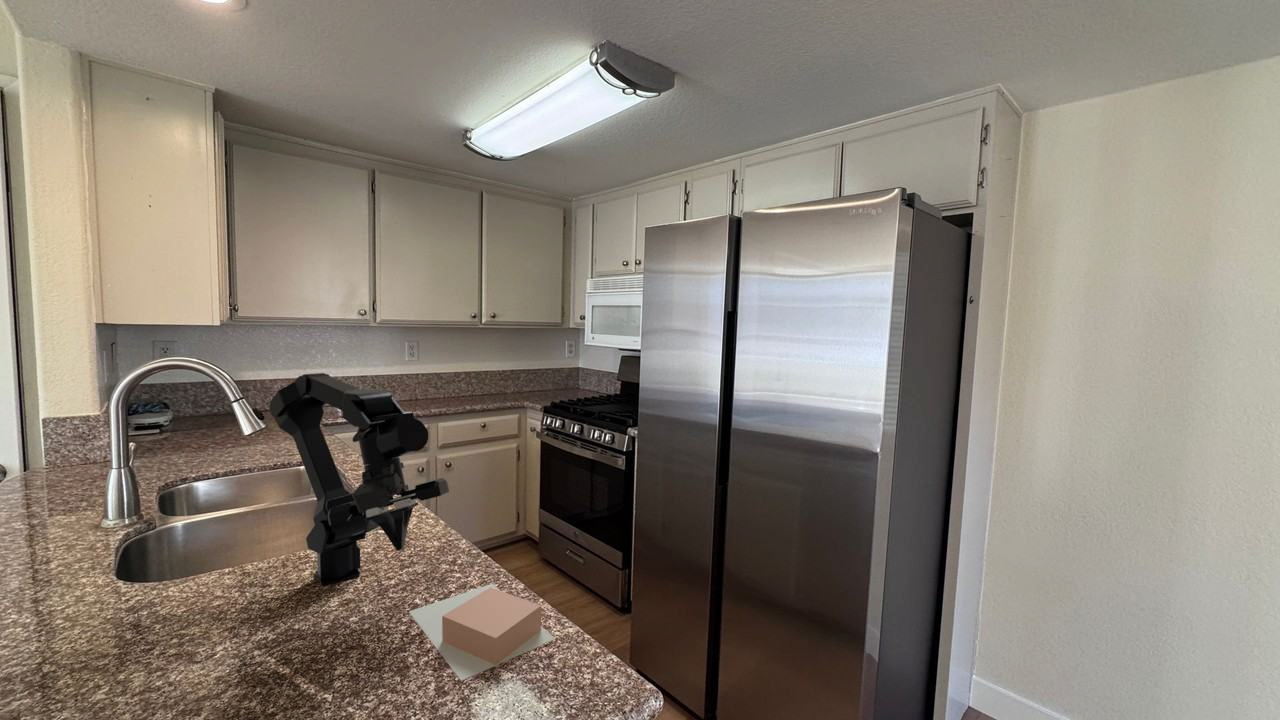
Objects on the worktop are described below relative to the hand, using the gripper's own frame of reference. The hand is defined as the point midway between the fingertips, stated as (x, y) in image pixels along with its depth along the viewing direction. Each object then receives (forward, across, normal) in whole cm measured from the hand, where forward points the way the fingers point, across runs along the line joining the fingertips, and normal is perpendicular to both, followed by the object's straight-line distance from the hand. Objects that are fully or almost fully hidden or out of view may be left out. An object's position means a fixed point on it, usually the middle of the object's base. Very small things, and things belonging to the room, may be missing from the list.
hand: (400, 549), depth 90 cm
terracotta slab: (+12, +11, -7) cm, 17 cm away
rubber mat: (+14, +12, -6) cm, 20 cm away
